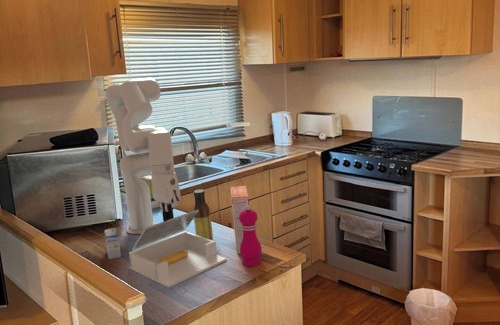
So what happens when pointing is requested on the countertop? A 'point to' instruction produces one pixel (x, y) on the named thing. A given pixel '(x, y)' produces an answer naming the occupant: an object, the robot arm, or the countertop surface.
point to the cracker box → (238, 211)
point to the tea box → (149, 181)
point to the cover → (164, 229)
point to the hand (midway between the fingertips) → (168, 221)
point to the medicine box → (112, 243)
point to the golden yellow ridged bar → (174, 257)
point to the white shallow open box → (168, 275)
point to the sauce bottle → (202, 216)
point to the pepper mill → (249, 238)
